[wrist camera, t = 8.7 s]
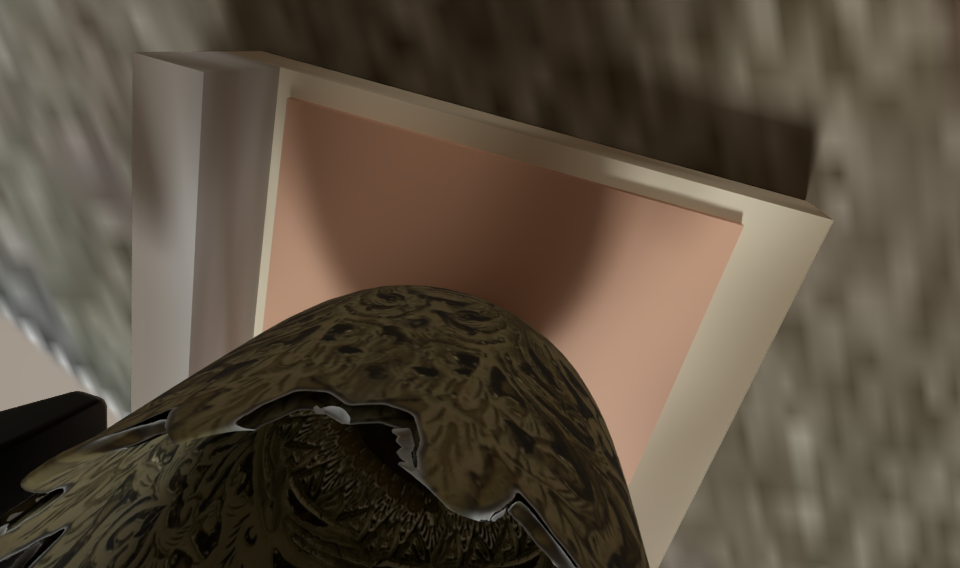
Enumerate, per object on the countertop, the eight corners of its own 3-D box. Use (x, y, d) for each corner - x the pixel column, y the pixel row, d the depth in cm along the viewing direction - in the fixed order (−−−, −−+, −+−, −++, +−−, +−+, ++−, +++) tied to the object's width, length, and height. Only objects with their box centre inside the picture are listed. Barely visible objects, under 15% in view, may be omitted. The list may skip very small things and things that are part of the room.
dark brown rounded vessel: (293, 457, 15) (7, 858, 8) (304, 166, 12) (-141, 355, 5) (590, 529, 14) (594, 1049, 7) (677, 238, 11) (846, 596, 4)
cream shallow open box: (806, 200, 12) (898, 265, 9) (640, 547, 16) (654, 693, 13) (261, 50, 13) (132, 52, 9) (230, 416, 17) (131, 518, 13)
